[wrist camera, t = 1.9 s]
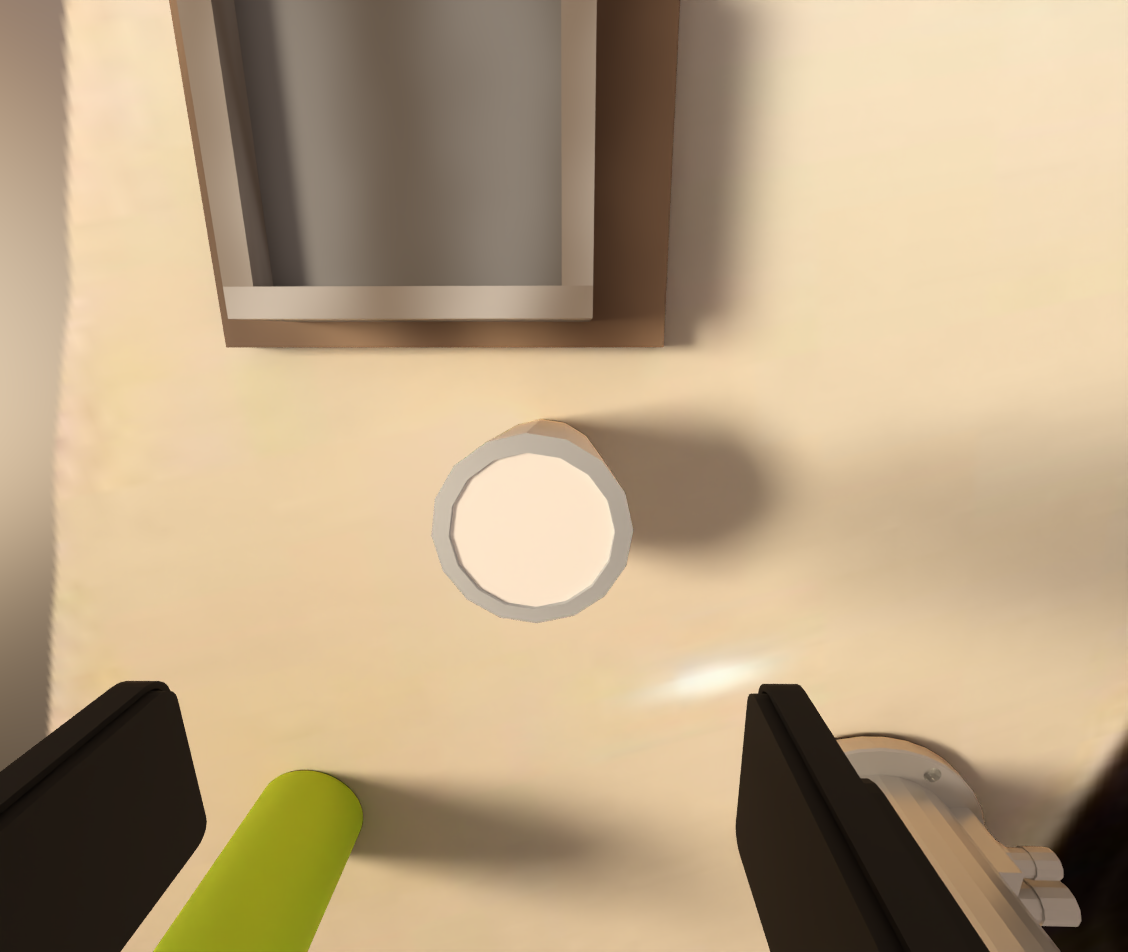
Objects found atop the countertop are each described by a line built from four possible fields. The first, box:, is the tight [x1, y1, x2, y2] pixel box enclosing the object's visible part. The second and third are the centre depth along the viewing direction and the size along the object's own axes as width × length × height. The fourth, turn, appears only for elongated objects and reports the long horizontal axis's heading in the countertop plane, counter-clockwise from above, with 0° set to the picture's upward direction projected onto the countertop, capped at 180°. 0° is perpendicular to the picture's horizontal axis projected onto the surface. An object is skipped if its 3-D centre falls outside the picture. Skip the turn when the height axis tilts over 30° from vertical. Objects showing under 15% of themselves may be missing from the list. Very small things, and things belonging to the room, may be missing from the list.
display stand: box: [169, 0, 680, 347], centre depth 18 cm, size 18×14×6 cm
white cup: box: [432, 419, 633, 623], centre depth 21 cm, size 7×7×7 cm
